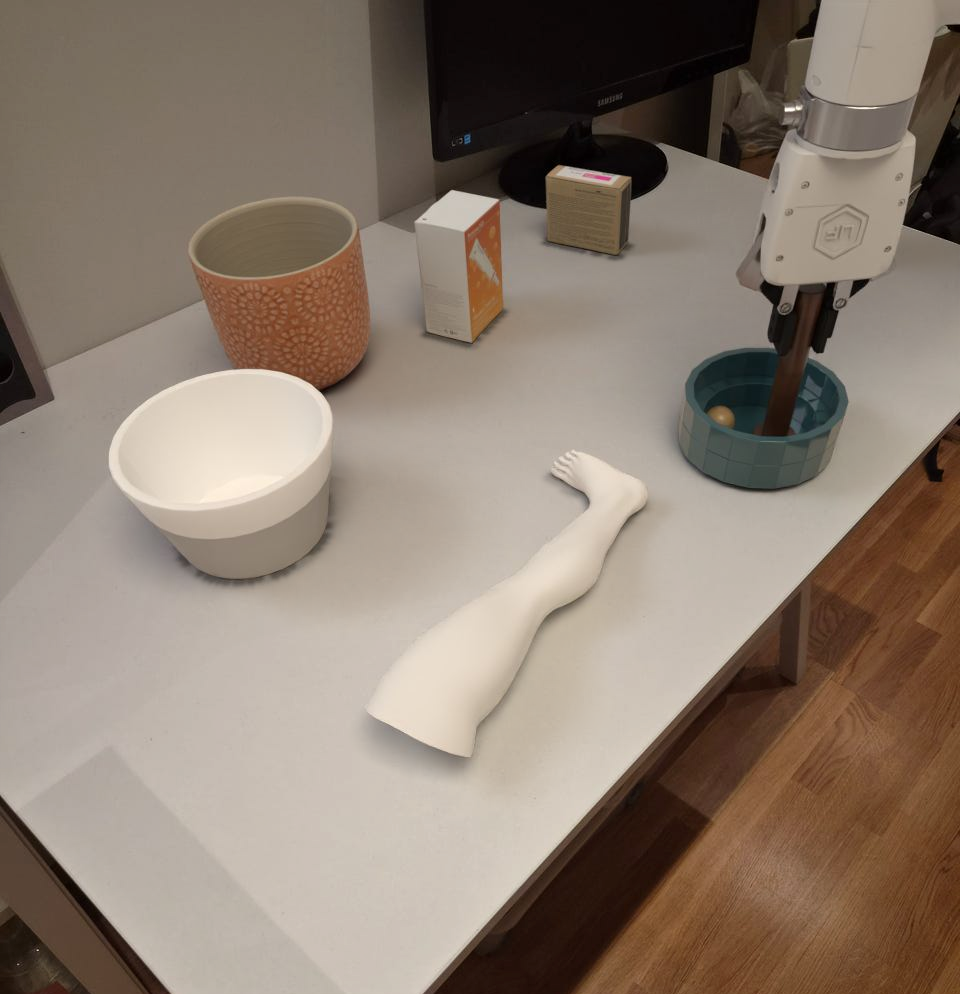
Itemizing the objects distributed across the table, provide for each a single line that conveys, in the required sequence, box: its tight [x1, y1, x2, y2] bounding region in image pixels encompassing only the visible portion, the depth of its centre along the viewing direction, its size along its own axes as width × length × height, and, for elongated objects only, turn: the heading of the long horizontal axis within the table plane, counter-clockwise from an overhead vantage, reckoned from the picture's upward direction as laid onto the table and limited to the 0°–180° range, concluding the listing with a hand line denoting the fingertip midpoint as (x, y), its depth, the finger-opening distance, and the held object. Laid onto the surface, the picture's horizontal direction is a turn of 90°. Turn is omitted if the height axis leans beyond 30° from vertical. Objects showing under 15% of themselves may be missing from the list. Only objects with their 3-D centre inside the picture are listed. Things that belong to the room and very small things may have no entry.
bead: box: [706, 406, 735, 429], centre depth 84 cm, size 3×3×3 cm
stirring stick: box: [753, 283, 826, 437], centre depth 78 cm, size 4×4×16 cm
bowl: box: [108, 369, 335, 580], centre depth 78 cm, size 19×19×11 cm
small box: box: [413, 189, 504, 344], centre depth 97 cm, size 8×6×13 cm
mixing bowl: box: [678, 347, 850, 490], centre depth 83 cm, size 15×15×6 cm
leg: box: [364, 449, 649, 758], centre depth 71 cm, size 7×35×10 cm
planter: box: [187, 196, 371, 391], centre depth 92 cm, size 17×17×15 cm
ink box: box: [544, 164, 632, 256], centre depth 109 cm, size 10×4×8 cm, turn 60°
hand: (796, 344), depth 76 cm, fingers closed on stirring stick, 2 cm apart
